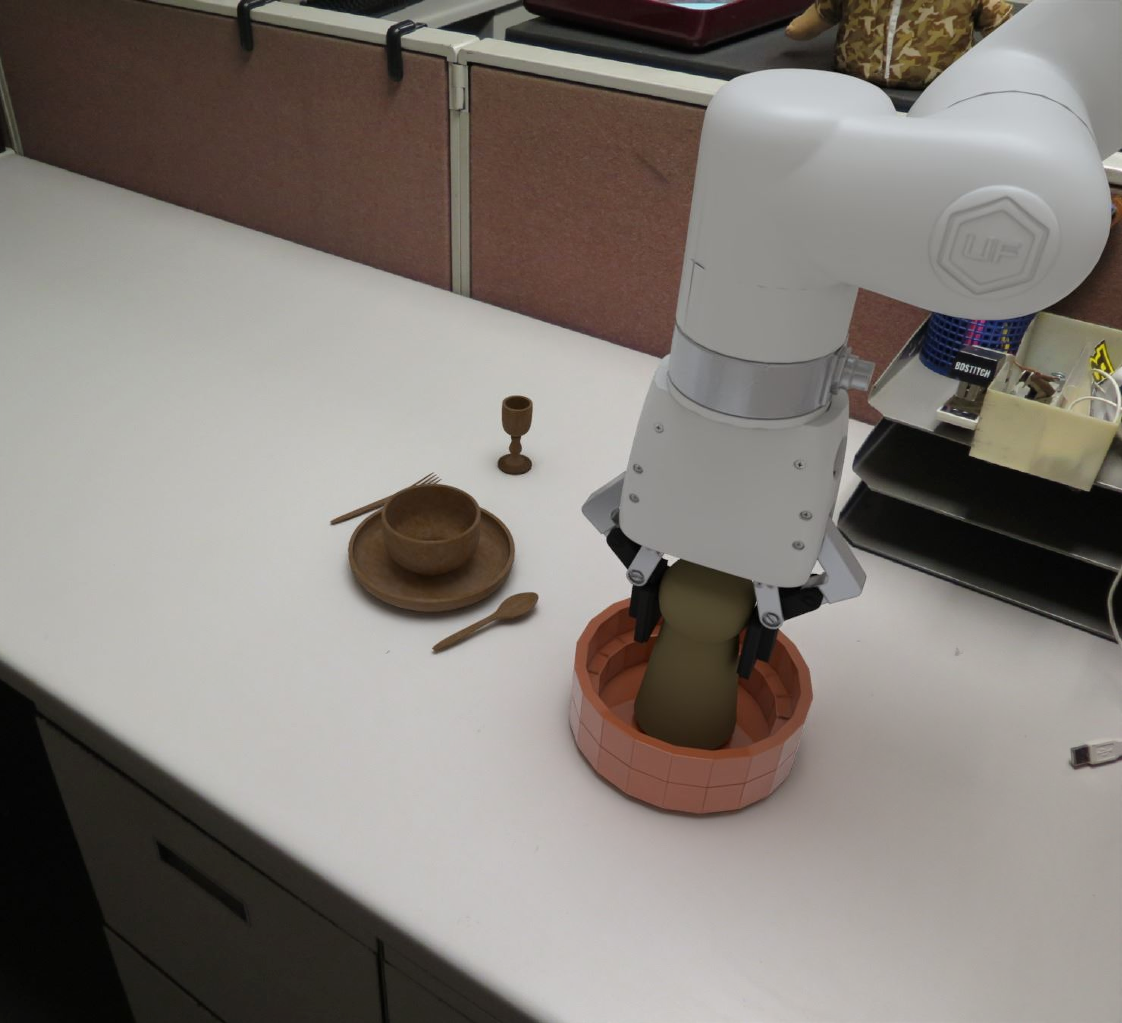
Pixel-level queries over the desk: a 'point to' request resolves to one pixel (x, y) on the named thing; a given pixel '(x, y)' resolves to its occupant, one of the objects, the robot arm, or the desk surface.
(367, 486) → the desk surface
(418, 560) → the place setting
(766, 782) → the bowl
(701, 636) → the cork
